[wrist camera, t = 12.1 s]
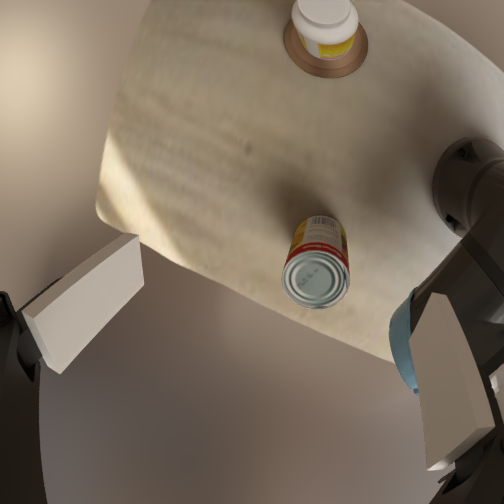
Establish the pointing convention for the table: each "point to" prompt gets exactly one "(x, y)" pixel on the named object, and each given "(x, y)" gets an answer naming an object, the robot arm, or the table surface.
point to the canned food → (317, 264)
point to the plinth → (326, 67)
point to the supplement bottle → (325, 26)
